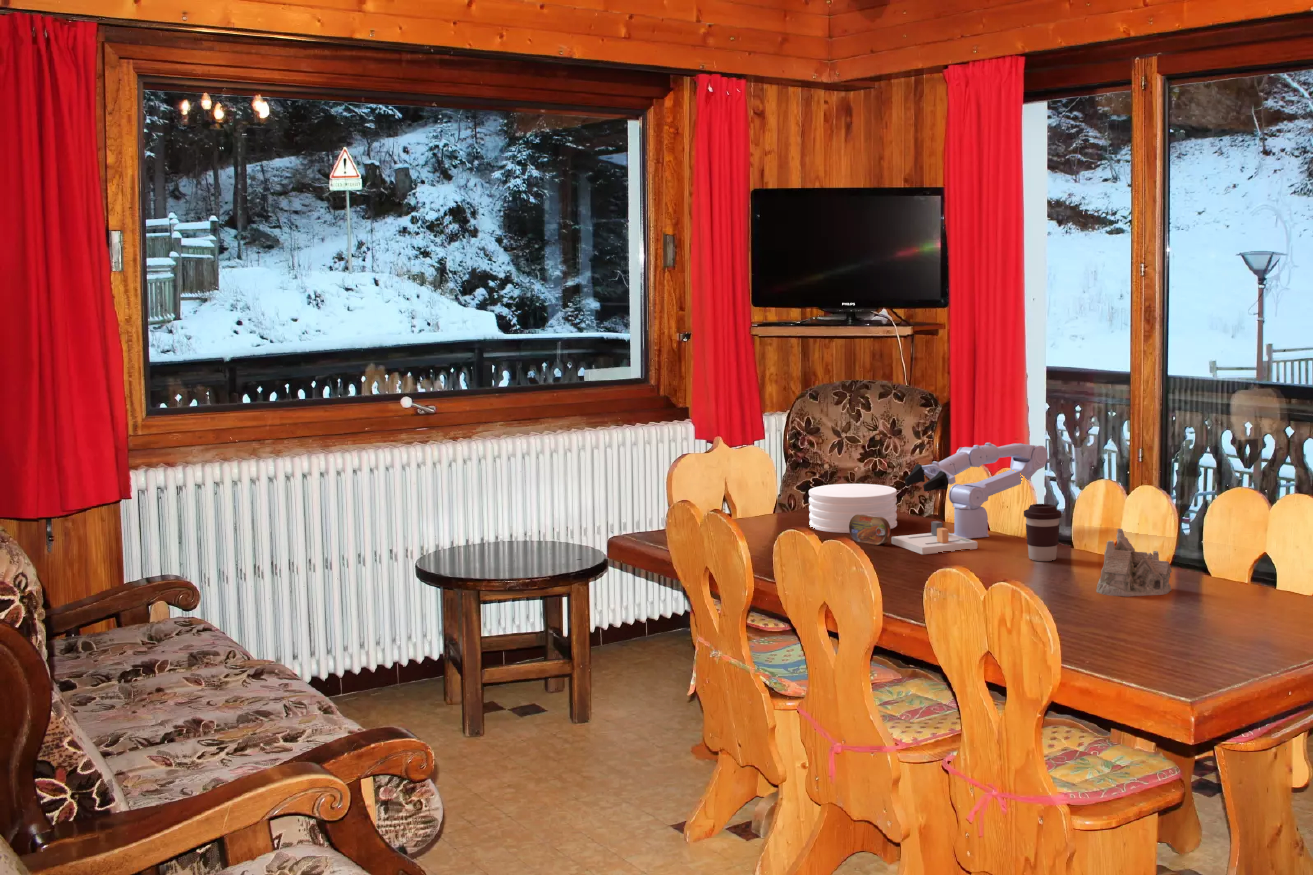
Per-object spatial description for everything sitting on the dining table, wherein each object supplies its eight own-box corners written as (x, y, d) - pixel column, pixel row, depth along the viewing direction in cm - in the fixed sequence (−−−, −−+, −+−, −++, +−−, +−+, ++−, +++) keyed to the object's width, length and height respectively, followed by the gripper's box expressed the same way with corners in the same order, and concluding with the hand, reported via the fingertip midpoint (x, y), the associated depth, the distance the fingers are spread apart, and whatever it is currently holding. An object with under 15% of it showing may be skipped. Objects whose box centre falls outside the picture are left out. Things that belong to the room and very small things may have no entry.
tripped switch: (943, 540, 371) (942, 527, 370) (948, 542, 368) (948, 529, 368) (936, 541, 370) (936, 528, 370) (942, 543, 367) (942, 529, 367)
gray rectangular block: (937, 533, 382) (937, 520, 381) (942, 535, 379) (942, 522, 378) (931, 534, 381) (931, 521, 381) (936, 535, 378) (936, 523, 378)
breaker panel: (944, 538, 385) (944, 531, 385) (977, 548, 368) (977, 541, 368) (891, 543, 380) (891, 536, 380) (922, 554, 363) (922, 547, 363)
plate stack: (802, 532, 403) (801, 496, 402) (817, 516, 430) (816, 483, 428) (891, 534, 395) (891, 497, 394) (901, 518, 422) (901, 484, 420)
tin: (848, 540, 387) (848, 513, 386) (855, 538, 389) (855, 511, 388) (885, 547, 375) (884, 519, 374) (892, 545, 377) (892, 517, 376)
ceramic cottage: (1087, 591, 313) (1092, 531, 311) (1117, 582, 325) (1122, 524, 323) (1148, 605, 302) (1154, 543, 300) (1178, 594, 314) (1183, 535, 312)
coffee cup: (1063, 563, 346) (1063, 508, 344) (1025, 562, 348) (1025, 508, 346) (1059, 555, 356) (1059, 502, 354) (1022, 555, 358) (1022, 502, 356)
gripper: (929, 450, 385) (896, 467, 379) (964, 461, 373) (931, 478, 367) (932, 471, 388) (899, 488, 382) (967, 483, 376) (933, 500, 370)
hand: (915, 485), depth 375 cm, fingers open, 7 cm apart
